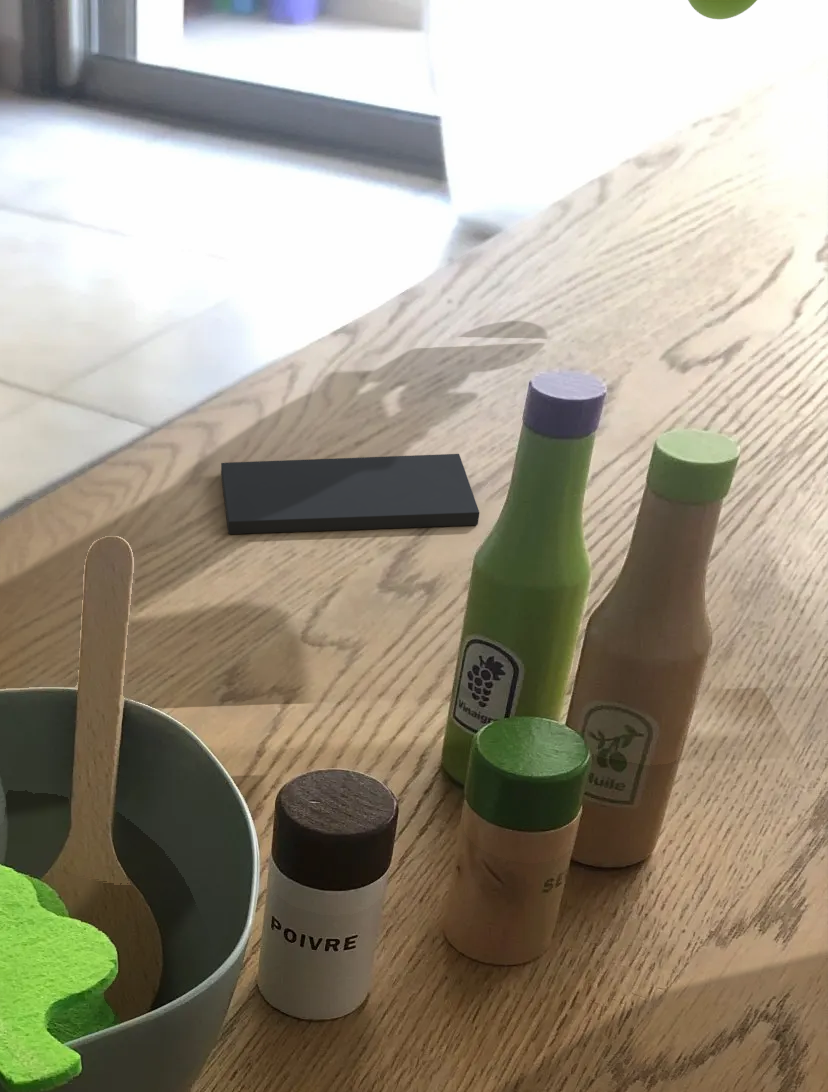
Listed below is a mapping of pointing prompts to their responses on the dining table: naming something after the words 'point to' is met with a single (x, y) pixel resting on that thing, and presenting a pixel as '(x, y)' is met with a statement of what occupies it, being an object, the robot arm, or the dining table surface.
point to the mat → (347, 494)
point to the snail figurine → (721, 7)
